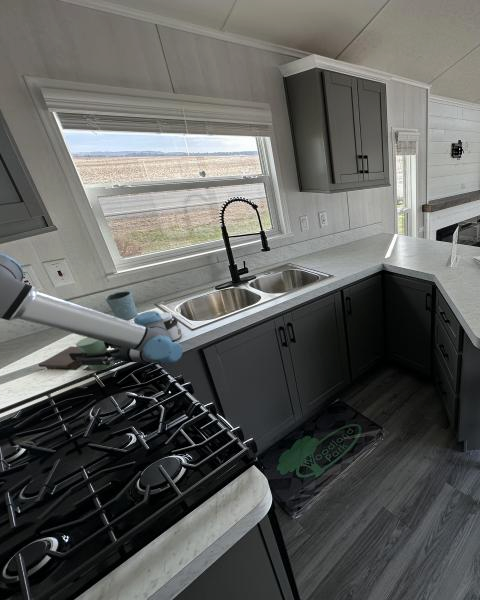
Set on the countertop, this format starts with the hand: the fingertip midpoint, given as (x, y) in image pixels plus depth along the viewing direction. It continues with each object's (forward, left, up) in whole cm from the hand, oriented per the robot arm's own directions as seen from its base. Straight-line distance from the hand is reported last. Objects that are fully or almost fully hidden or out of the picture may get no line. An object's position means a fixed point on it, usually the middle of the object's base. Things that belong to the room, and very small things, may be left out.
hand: (82, 350), depth 122 cm
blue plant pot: (+40, +22, -8) cm, 46 cm away
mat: (0, -5, -8) cm, 9 cm away
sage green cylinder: (0, -5, -7) cm, 9 cm away
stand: (+2, +10, -8) cm, 13 cm away
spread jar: (+21, -15, -8) cm, 27 cm away
